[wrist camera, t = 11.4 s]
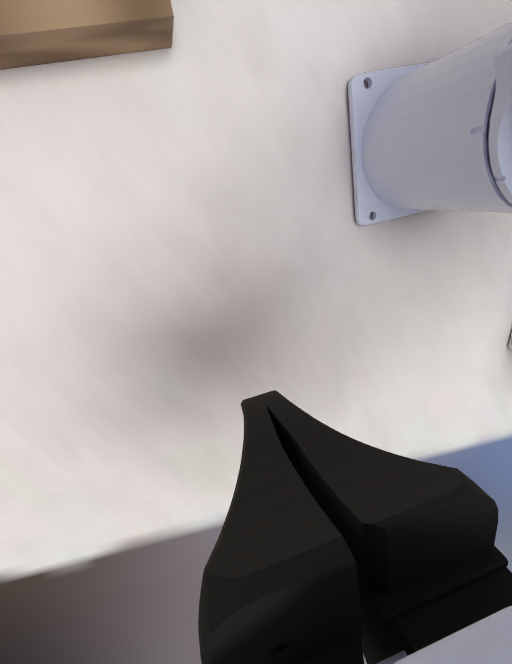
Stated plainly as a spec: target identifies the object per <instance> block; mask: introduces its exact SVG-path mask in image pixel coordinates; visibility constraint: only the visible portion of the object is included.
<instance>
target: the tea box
mask: <svg viewBox="0 0 512 664" xmlns="http://www.w3.org/2000/svg"><path fill="white" fill-rule="evenodd" d="M508 347H510V348H511V349H512V334H511V338H510V342H509V345H508Z"/></svg>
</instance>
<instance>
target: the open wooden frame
mask: <svg viewBox="0 0 512 664" xmlns="http://www.w3.org/2000/svg"><path fill="white" fill-rule="evenodd" d="M173 17H174V16H173V11H172V7H171V2H170V0H0V69H8V68H15V67H23V66H31V65H39V64H46V63H54V62H62V61H69V60H77V59H85V58H93V57H100V56H108V55H116V54H124V53H131V52H139V51H147V50H155V49H162V48H170V47H172V33H173Z"/></svg>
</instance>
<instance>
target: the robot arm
mask: <svg viewBox="0 0 512 664" xmlns="http://www.w3.org/2000/svg"><path fill="white" fill-rule="evenodd" d="M364 80H366V81H367V82H368V88H367V89H366V88H365V87H364V84H363V83H364ZM348 96H349V113H350V130H351V147H352V165H353V182H354V199H355V216H356V222H357V223H358V224H359V225H361V226H366V225H370V224H375V223H379V222H383V221H387V220H391V219H395V218H399V217H404V216H408V215H412V214H416V213H420V212H424V211H428V210H450V211H479V212H507V213H512V22H510V23H508V24H506V25H504V26H502V27H500V28H498V29H496V30H495V31H493V32H491V33H489V34H487V35H485V36H483V37H481V38H479V39H477V40H475V41H473V42H471V43H469V44H467V45H465V46H463V47H461V48H459V49H457V50H455V51H453V52H451V53H449V54H447V55H445V56H443V57H442V58H440V59H438V60H436V61H434V62H429V63H423V64H416V65H410V66H404V67H397V68H391V69H385V70H378V71H372V72H365V73H359V74H356V75H355V76H353V77H352V78H351V79H350V81H349V83H348ZM371 212H372V213H373V217H372V219H370V218H369V214H370V213H371ZM241 407H242V411H243V415H244V441H243V450H242V458H241V465H240V470H239V475H238V479H237V484H236V487H235V491H234V495H233V498H232V502H231V505H230V508H229V511H228V514H227V516H226V519H225V522H224V525H223V527H222V530H221V533H220V535H219V538H218V540H217V542H216V544H215V547H214V549H213V551H212V553H211V555H210V558H209V560H208V562H207V564H206V566H205V568H204V572H203V579H202V586H201V594H200V603H199V621H198V622H199V623H198V631H199V642H200V654H201V661H202V664H364V659H363V654H364V656H365V659H366V662H367V664H512V573H511V572H510V571H509V570H508V568H507V567H506V566H507V565H508V561H507V559H506V557H505V556H504V555H503V554H502V553H501V552H500V551H499V550H498V549H497V548H496V547H495V546H494V541H495V536H496V530H497V525H498V508H497V505H496V503H495V501H494V500H493V499H492V498H491V497H490V496H488V494H486V493H485V492H484V491H483V490H482V489H481V488H480V487H479V486H478V485H477V484H476V483H474V482H473V481H472V480H471V479H470V478H468V477H467V476H466V475H465V474H463V473H462V472H461V471H459V470H458V469H456V468H451V467H446V466H441V465H436V464H432V463H426V462H422V461H418V460H414V459H410V458H407V457H403V456H399V455H396V454H393V453H390V452H386V451H383V450H381V449H378V448H375V447H372V446H370V445H367V444H364V443H362V442H359V441H357V440H355V439H352V438H350V437H348V436H346V435H344V434H342V433H340V432H338V431H336V430H334V429H332V428H330V427H329V426H327V425H325V424H323V423H322V422H320V421H318V420H317V419H315V418H313V417H312V416H310V415H309V414H307V413H306V412H304V411H303V410H301V409H300V408H298V407H297V406H296V405H294V404H293V403H291V402H290V401H289V400H287V399H286V398H285V397H284V396H282V395H281V394H280V393H279V392H277V391H275V390H274V391H271V392H267V393H264V394H261V395H258V396H255V397H252V398H248V399H245V400H243V401H242V403H241Z"/></svg>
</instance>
